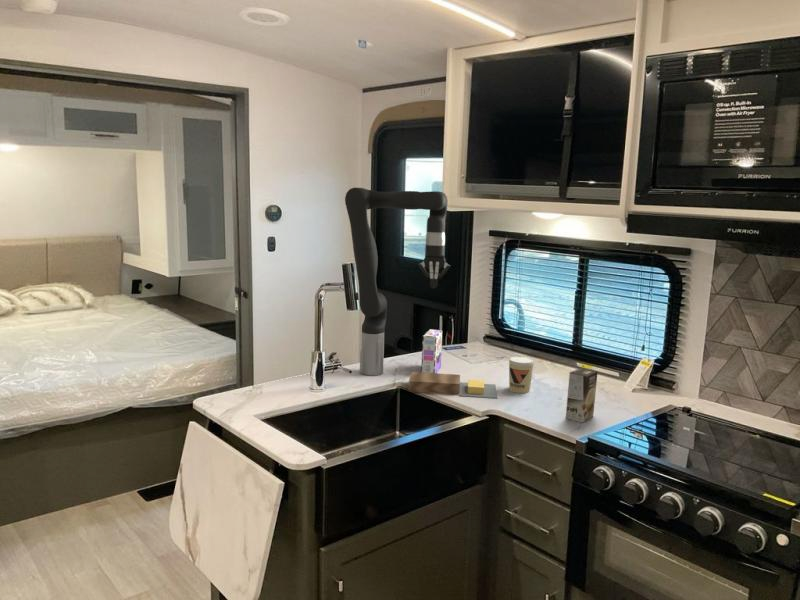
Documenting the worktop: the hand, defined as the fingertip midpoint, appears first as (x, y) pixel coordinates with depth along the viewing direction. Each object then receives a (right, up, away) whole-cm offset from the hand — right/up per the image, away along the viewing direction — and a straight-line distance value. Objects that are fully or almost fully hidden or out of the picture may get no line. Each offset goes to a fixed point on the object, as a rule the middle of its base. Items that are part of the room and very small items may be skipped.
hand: (433, 288), depth 241 cm
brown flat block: (0, -38, -5) cm, 39 cm away
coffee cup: (+33, -40, -4) cm, 52 cm away
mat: (+17, -39, -6) cm, 43 cm away
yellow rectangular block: (+16, -36, -7) cm, 40 cm away
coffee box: (+48, -45, -31) cm, 73 cm away
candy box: (0, -35, +18) cm, 39 cm away
